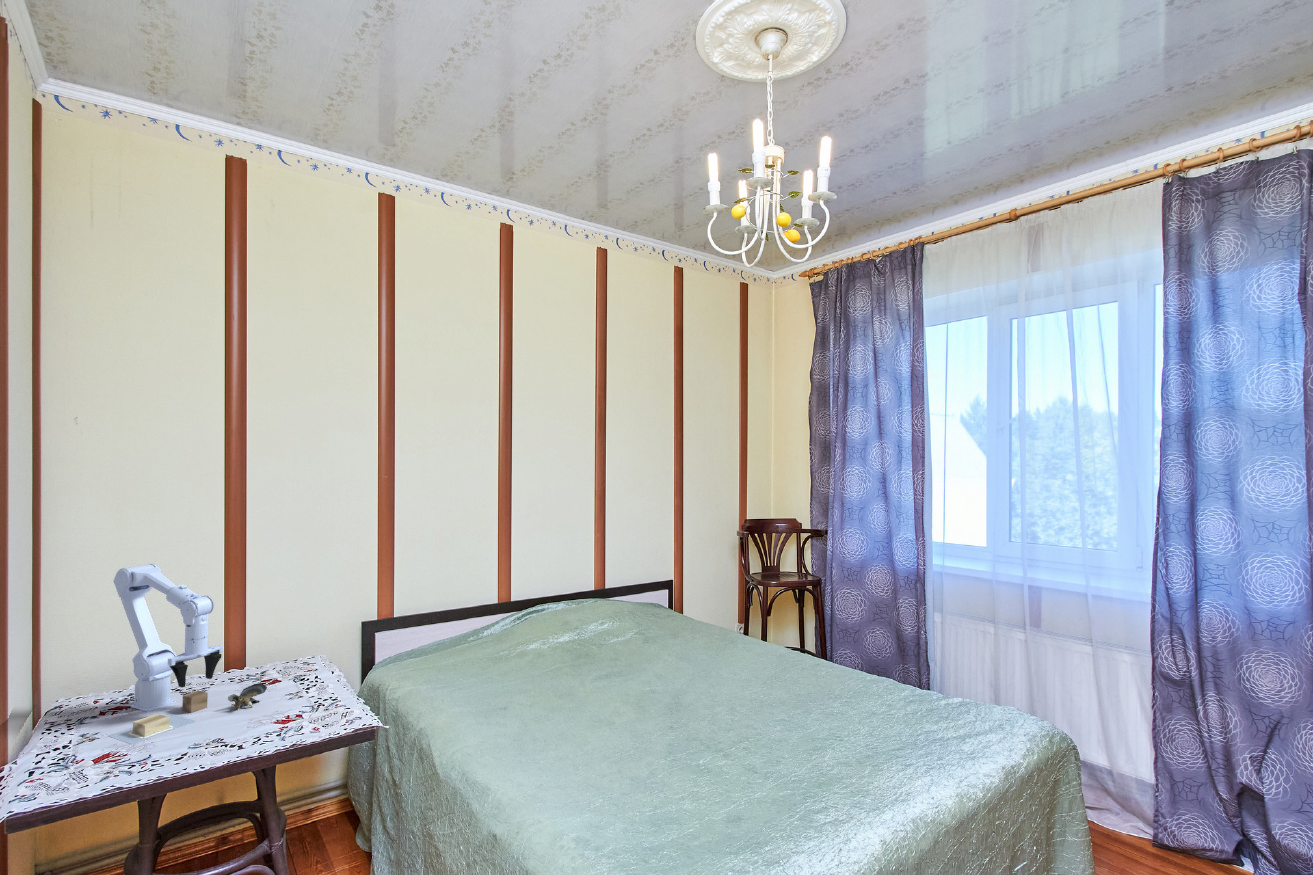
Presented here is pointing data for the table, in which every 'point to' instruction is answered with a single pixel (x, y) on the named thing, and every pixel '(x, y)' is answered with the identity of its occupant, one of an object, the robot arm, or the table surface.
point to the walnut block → (194, 701)
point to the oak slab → (151, 725)
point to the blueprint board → (134, 738)
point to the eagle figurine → (247, 695)
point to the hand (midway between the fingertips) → (195, 682)
